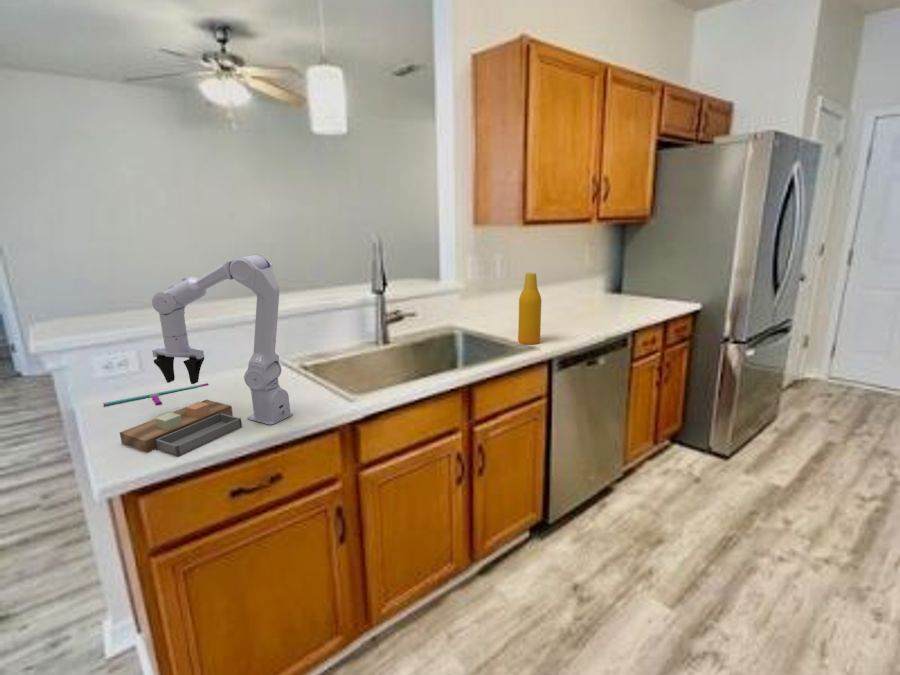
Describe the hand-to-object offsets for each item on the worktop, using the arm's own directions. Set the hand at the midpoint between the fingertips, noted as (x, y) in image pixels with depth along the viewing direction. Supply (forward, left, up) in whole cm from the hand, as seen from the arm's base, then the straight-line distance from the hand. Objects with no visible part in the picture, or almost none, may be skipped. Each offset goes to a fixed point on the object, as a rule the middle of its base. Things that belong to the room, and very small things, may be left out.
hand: (182, 382), depth 137 cm
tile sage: (-9, +11, -6) cm, 16 cm away
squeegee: (+18, -4, -10) cm, 21 cm away
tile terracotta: (-9, +3, -6) cm, 12 cm away
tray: (-17, +8, -10) cm, 21 cm away
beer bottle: (-61, -114, -10) cm, 130 cm away
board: (-7, +7, -10) cm, 14 cm away
